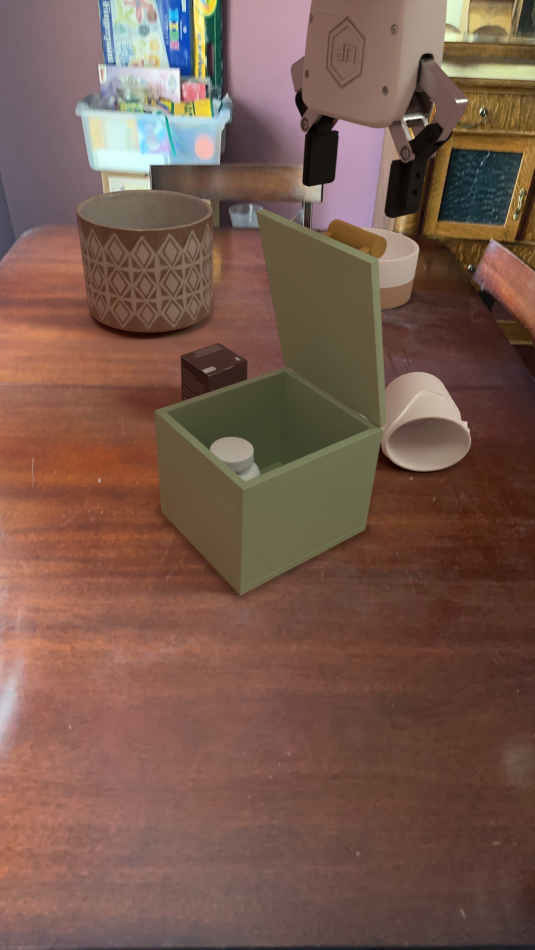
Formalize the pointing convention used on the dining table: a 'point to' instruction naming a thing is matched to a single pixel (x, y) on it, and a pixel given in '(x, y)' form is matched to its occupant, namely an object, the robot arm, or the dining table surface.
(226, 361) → the box
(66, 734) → the dining table surface
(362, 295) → the lid
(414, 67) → the robot arm
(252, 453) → the pill bottle
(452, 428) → the mug
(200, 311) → the planter
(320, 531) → the chest
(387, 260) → the bowl
